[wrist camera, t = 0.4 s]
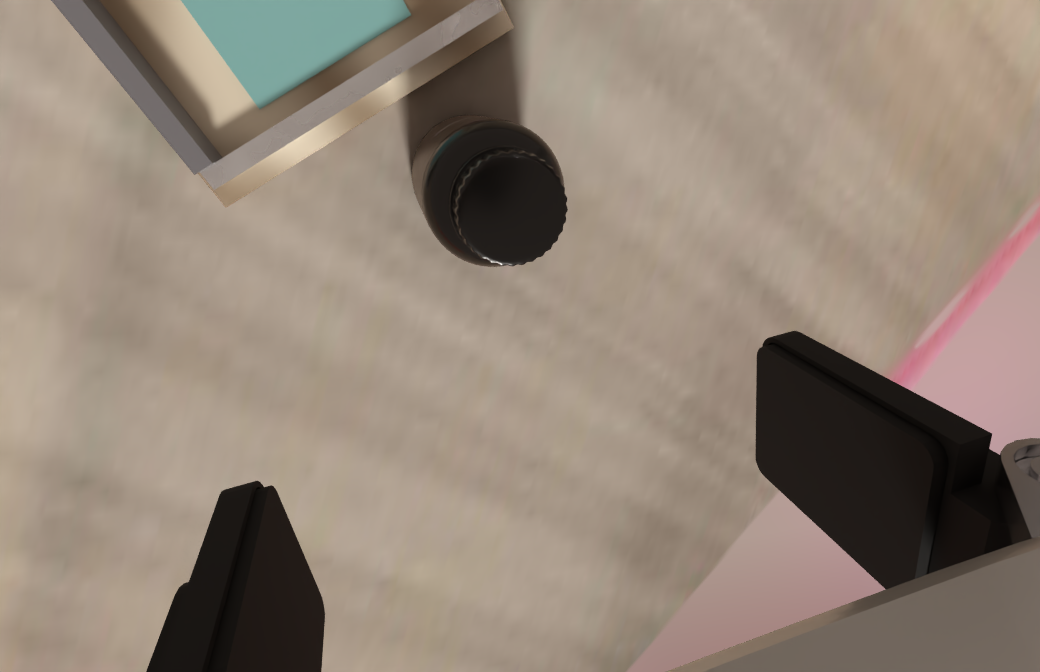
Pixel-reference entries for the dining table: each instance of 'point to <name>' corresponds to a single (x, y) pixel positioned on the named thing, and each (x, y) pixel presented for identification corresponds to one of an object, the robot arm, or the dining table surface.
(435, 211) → the supplement bottle
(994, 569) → the robot arm
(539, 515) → the dining table surface
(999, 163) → the dining table surface
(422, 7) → the board
